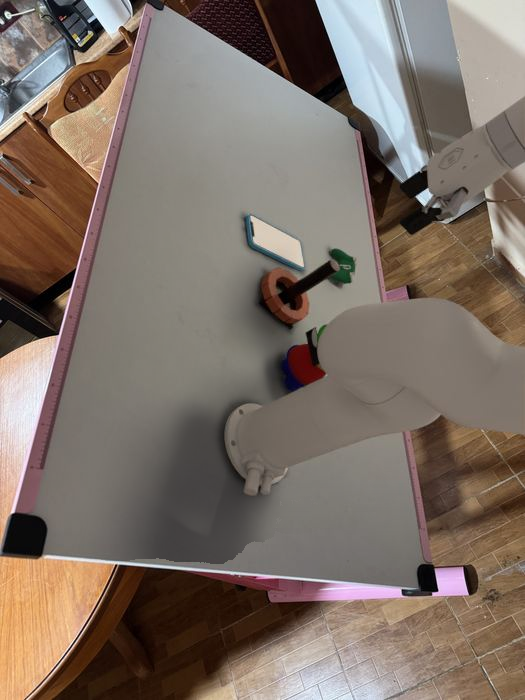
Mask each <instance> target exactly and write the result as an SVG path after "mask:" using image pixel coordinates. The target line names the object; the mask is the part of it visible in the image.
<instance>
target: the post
mask: <svg viewBox="0 0 525 700" xmlns="http://www.w3.org/2000/svg"><path fill="white" fill-rule="evenodd" d="M338 263H339V262H338V261H337V260H336V259H335V258H331V259H329V260H328V261H326V262H325V263H323V264H321V265H320V266H318V267H316V268H315V269H314V270H312V271H311V272H309V273H308V274H307V275H304V276H303V277H301V278H300V279H298V280H299V281H297V282H296V283H294V284H293V285H291V286H290V287H287V286H286V285H284V284H283V283H282V282H279V281H276V285H275V287H276V291H277V294H278V296H279V298H280V299H281V301H282V303H283V304H284V305H285V306H287V307H288V308H289V309H290V310H295V309H296V302H295V299H296V298H297V297H299V296H300V295H302V294H304V293H305V292H306V293H307V292H308V291H310V290H312V289H313V288H315V287H316V286H318V285H320V284H321V283H322V282H324V281H326V280H327V279H330V278H329V277H330V276H332V275H334V274H335V273H337V272H338V271H339V270H340V267H339V265H338ZM265 301H267V300H264V296H263V292H262V291H261V294H260V297H259V302H258V305H259V306H260V307H261V308H263V309H264V310H265V311H267V312H268V313H269V314H270V315H271V316H273V318H275V319H276V320H277V321H279V322H280V323H281V324H283V325H284V326H285V327H286V328H288V329H289V330H292V329H293V328H294V327H295V324H292V323H286V322H285V321H284V322H283V321H282V320H281V319H279V318H278V317H277V316H276V315H274V313H272V311H271V310H270V308H269V306H268V305H267V303H266V302H265Z"/></svg>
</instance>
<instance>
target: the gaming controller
mask: <svg viewBox="0 0 525 700" xmlns="http://www.w3.org/2000/svg"><path fill="white" fill-rule="evenodd" d="M330 255H331V257H332V258H333V259H334V260H335V261H336V262H337V263H338V265H339V267H340V270H339V271H338V272H337V273H335V274H334V275H332V276H330V277H329V278H328V279H331V280H333V281H335V282H337V283H340V284H343V285H346V284H351V283H353V281H354V277H355V273H356V266H357V262H358V260H357V259H358V258H357V256H355V257H354V256H351V255H349V254H347V253H346V252H345V251H343V250H342V249H341V248H332V249H331V250H330Z"/></svg>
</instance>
